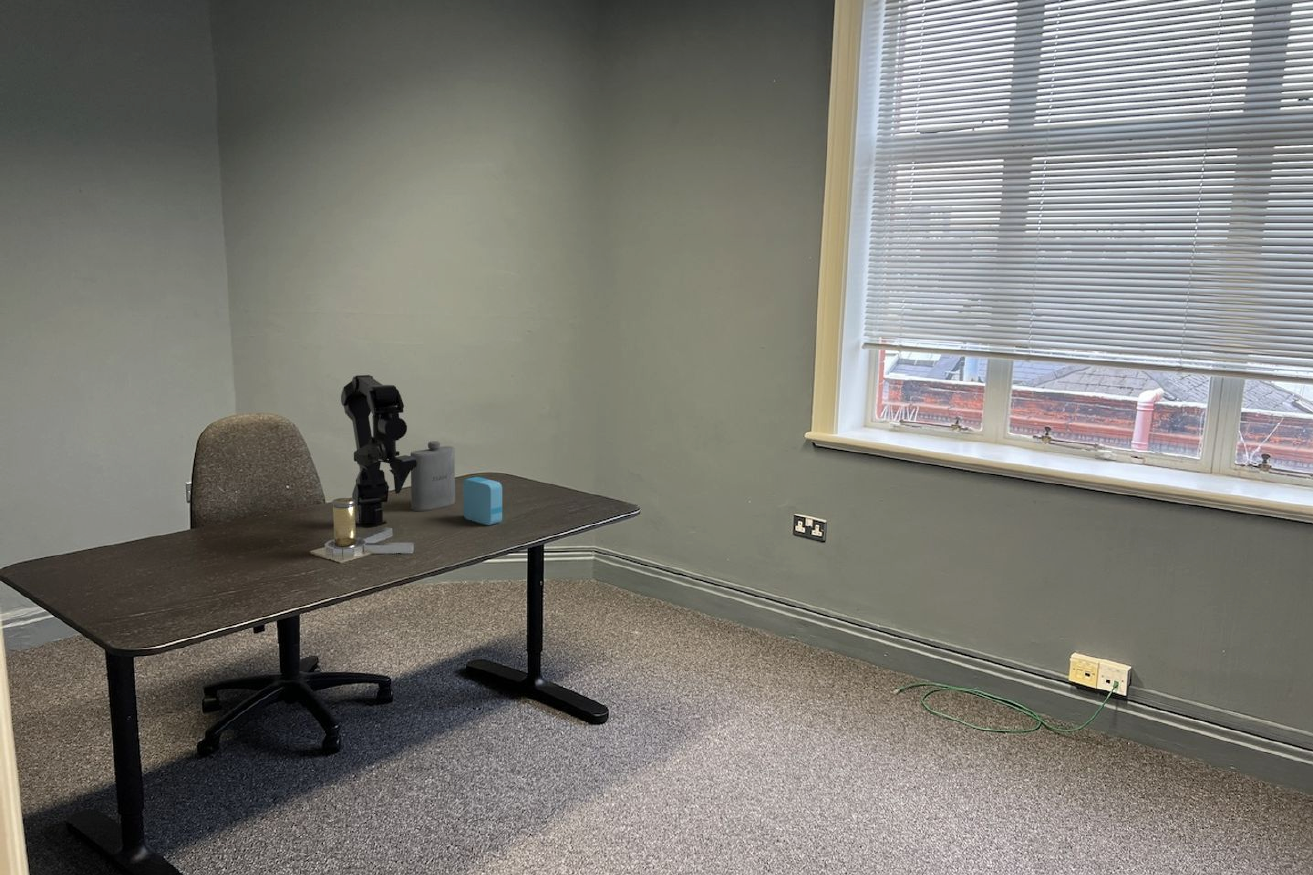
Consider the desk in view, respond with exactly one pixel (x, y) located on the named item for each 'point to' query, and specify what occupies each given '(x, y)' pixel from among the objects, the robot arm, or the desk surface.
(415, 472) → the flask
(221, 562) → the desk surface
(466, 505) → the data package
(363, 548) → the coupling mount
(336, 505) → the glass jar
